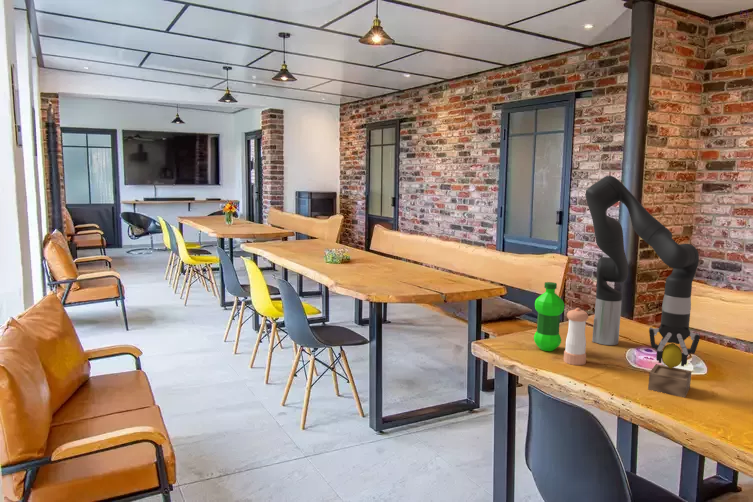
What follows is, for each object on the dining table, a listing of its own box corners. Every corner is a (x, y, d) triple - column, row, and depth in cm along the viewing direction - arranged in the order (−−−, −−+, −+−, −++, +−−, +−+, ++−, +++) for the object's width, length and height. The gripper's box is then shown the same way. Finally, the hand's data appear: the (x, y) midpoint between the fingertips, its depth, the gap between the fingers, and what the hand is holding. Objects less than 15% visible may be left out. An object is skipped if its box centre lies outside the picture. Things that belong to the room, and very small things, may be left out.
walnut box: (647, 390, 170) (649, 372, 169) (654, 380, 178) (655, 364, 177) (684, 398, 164) (686, 380, 163) (689, 388, 172) (691, 371, 171)
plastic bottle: (534, 343, 215) (538, 279, 211) (563, 347, 210) (567, 282, 207) (530, 350, 206) (533, 284, 202) (559, 354, 201) (564, 287, 198)
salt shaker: (565, 357, 199) (568, 304, 196) (586, 360, 196) (590, 307, 193) (562, 363, 192) (565, 309, 190) (584, 366, 189) (588, 311, 187)
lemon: (680, 367, 171) (682, 342, 170) (681, 372, 166) (684, 347, 165) (660, 364, 174) (662, 339, 173) (660, 369, 169) (663, 344, 168)
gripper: (649, 309, 167) (644, 363, 170) (704, 315, 161) (699, 371, 163) (649, 304, 174) (645, 356, 176) (702, 310, 168) (697, 364, 170)
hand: (671, 363), depth 170 cm, fingers closed on lemon, 5 cm apart
